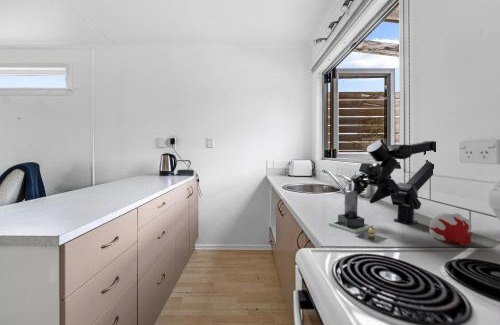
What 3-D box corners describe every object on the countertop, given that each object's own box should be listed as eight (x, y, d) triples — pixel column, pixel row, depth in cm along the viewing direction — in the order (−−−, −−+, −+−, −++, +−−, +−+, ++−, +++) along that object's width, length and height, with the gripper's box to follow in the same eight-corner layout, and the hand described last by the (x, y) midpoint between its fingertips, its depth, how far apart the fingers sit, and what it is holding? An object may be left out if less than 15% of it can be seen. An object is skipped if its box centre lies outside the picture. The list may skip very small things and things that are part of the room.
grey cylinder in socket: (353, 224, 94) (354, 189, 93) (364, 229, 87) (364, 192, 87) (337, 224, 93) (338, 190, 92) (347, 230, 86) (347, 193, 86)
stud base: (367, 235, 83) (367, 223, 83) (388, 241, 77) (388, 229, 77) (355, 239, 79) (355, 227, 79) (376, 246, 73) (376, 233, 73)
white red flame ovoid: (455, 234, 82) (488, 258, 68) (418, 231, 85) (443, 254, 70) (459, 209, 81) (493, 228, 67) (421, 207, 83) (447, 225, 69)
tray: (346, 222, 98) (346, 218, 98) (372, 230, 88) (372, 225, 88) (328, 227, 92) (328, 222, 92) (355, 235, 82) (355, 230, 82)
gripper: (354, 155, 101) (332, 183, 98) (393, 156, 83) (368, 190, 80) (369, 173, 104) (348, 200, 101) (410, 177, 86) (386, 211, 83)
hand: (361, 200), depth 91 cm, fingers open, 9 cm apart
